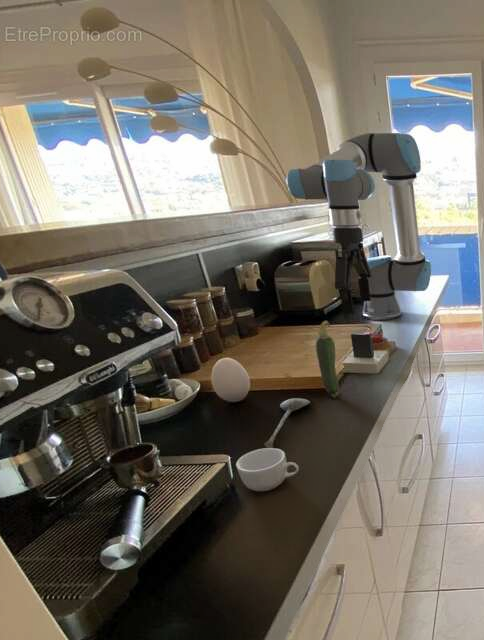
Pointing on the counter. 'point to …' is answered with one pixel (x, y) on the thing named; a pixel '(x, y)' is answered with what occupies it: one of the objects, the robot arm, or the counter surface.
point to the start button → (377, 338)
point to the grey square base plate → (365, 363)
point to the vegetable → (327, 360)
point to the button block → (385, 346)
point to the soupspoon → (286, 415)
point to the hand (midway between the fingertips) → (357, 306)
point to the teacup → (264, 469)
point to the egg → (230, 380)
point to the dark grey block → (362, 345)
